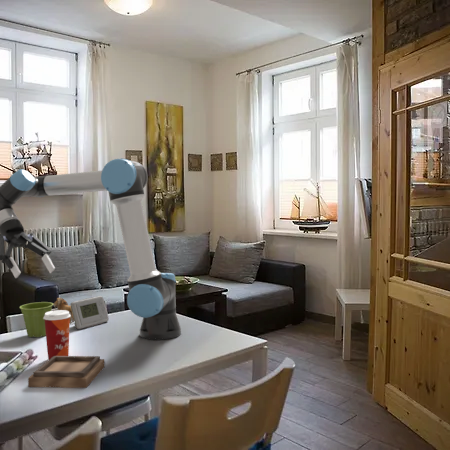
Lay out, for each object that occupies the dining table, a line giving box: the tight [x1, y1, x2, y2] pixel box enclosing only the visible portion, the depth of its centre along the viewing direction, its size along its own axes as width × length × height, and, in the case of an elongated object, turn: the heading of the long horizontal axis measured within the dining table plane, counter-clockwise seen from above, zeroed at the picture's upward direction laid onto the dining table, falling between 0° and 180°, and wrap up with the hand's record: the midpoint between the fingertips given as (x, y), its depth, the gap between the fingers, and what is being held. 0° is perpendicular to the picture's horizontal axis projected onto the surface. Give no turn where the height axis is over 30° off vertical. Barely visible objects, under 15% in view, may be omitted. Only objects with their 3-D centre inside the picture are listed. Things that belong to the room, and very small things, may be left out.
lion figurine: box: [52, 297, 75, 324], centre depth 206 cm, size 15×5×9 cm, turn 50°
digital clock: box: [69, 295, 109, 330], centre depth 199 cm, size 16×9×11 cm, turn 134°
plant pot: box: [19, 301, 54, 338], centre depth 185 cm, size 12×12×11 cm
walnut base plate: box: [27, 355, 105, 389], centre depth 141 cm, size 16×16×4 cm
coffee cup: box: [43, 309, 72, 361], centre depth 156 cm, size 8×8×15 cm
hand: (36, 273), depth 166 cm, fingers open, 13 cm apart
